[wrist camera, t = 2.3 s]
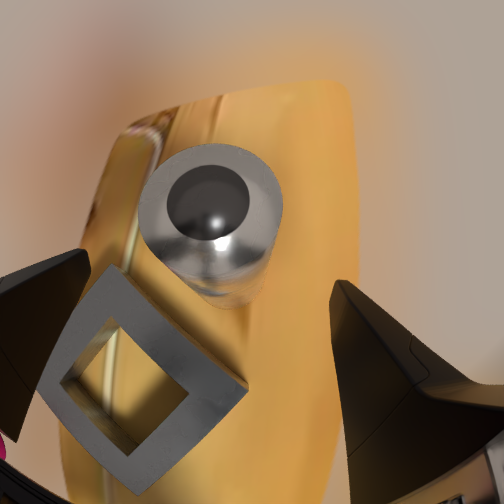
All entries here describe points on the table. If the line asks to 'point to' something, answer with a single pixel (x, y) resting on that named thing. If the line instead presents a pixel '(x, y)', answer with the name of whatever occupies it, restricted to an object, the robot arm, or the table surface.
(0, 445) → the pepper mill
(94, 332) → the jig
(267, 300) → the table surface
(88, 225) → the table surface
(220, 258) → the ring
